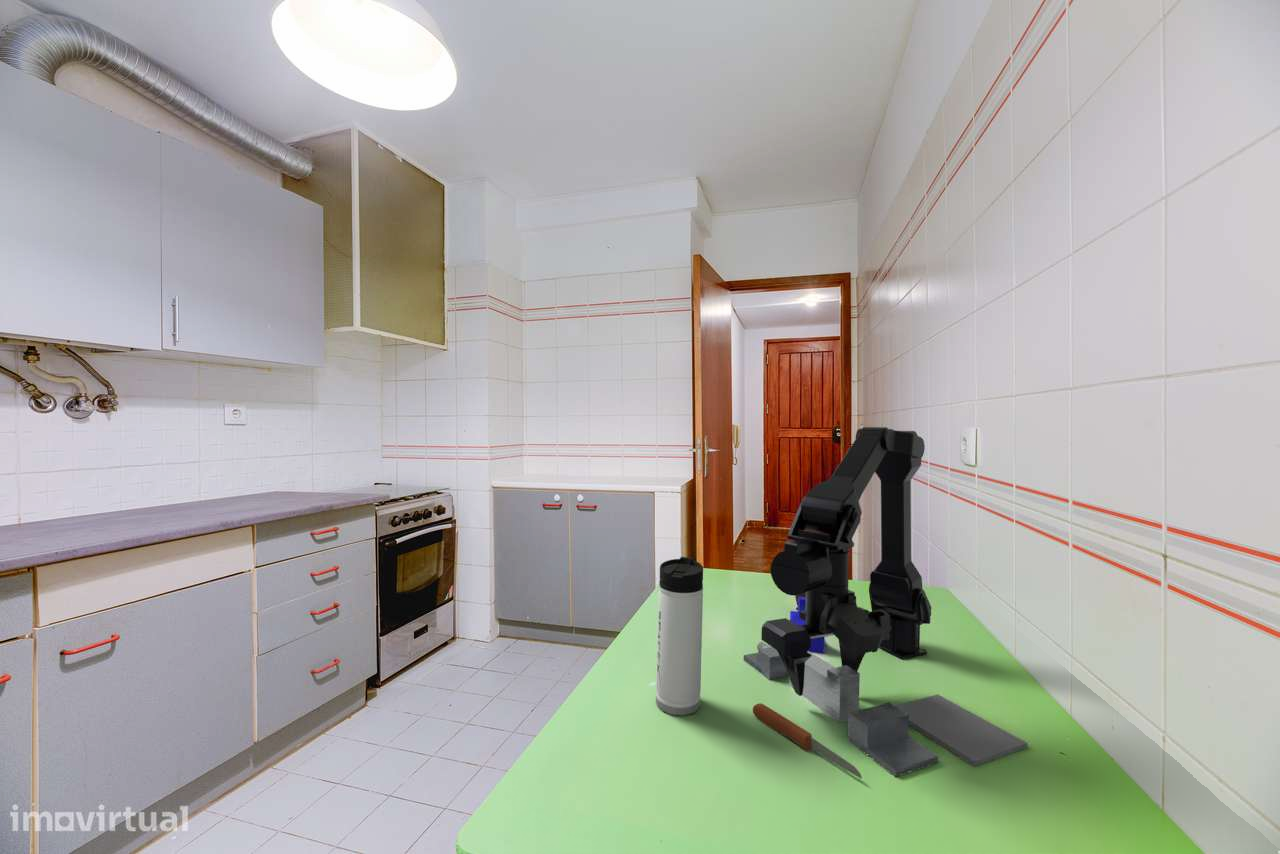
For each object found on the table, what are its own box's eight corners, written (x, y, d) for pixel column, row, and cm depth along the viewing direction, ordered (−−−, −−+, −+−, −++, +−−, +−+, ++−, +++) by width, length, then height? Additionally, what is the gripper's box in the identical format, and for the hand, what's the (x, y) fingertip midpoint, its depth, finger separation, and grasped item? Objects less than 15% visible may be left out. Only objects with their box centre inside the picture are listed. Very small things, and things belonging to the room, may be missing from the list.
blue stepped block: (789, 625, 100) (790, 596, 100) (813, 628, 99) (813, 598, 99) (797, 651, 88) (798, 618, 88) (824, 654, 87) (825, 620, 87)
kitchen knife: (751, 717, 67) (751, 702, 67) (758, 714, 68) (758, 699, 68) (858, 788, 54) (858, 770, 54) (865, 783, 55) (865, 765, 55)
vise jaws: (777, 653, 86) (777, 633, 86) (938, 762, 59) (938, 733, 59) (743, 659, 84) (744, 639, 84) (895, 777, 56) (896, 746, 56)
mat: (937, 698, 73) (937, 694, 73) (1027, 747, 62) (1027, 742, 62) (888, 711, 69) (888, 707, 69) (974, 766, 58) (974, 761, 58)
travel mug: (704, 695, 72) (708, 559, 72) (694, 720, 66) (698, 571, 66) (663, 687, 74) (667, 554, 74) (650, 710, 68) (653, 565, 68)
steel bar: (807, 683, 77) (808, 643, 77) (858, 718, 68) (859, 673, 68) (789, 687, 75) (790, 646, 76) (839, 723, 66) (840, 677, 66)
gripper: (815, 607, 60) (812, 735, 60) (923, 592, 67) (920, 706, 67) (760, 580, 71) (757, 689, 71) (858, 569, 78) (856, 668, 78)
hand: (824, 688), depth 71 cm, fingers open, 9 cm apart
